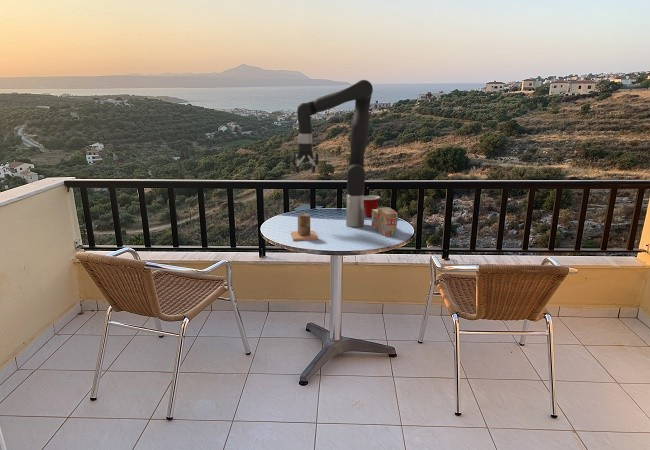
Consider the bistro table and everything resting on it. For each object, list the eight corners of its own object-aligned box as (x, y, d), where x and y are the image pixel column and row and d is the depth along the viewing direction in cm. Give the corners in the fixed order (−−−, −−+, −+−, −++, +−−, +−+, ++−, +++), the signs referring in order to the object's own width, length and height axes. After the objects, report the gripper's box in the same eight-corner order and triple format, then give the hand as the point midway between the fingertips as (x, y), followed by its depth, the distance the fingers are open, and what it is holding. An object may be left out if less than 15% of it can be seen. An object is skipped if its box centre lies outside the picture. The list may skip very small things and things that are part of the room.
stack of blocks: (371, 225, 220) (372, 203, 217) (381, 225, 221) (383, 203, 218) (384, 237, 200) (385, 213, 197) (396, 236, 201) (397, 212, 198)
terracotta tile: (314, 232, 206) (314, 230, 205) (317, 239, 194) (317, 237, 194) (290, 233, 204) (290, 231, 203) (293, 240, 192) (293, 238, 192)
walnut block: (307, 232, 202) (307, 213, 199) (310, 235, 197) (310, 215, 194) (297, 233, 200) (297, 214, 197) (300, 236, 196) (300, 216, 193)
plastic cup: (360, 214, 245) (361, 194, 242) (378, 214, 245) (379, 194, 241) (361, 218, 234) (361, 198, 231) (379, 218, 234) (380, 198, 231)
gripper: (294, 143, 206) (294, 174, 210) (320, 142, 210) (320, 173, 215) (290, 142, 212) (290, 172, 217) (315, 141, 217) (315, 171, 221)
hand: (305, 173), depth 216 cm, fingers open, 8 cm apart
